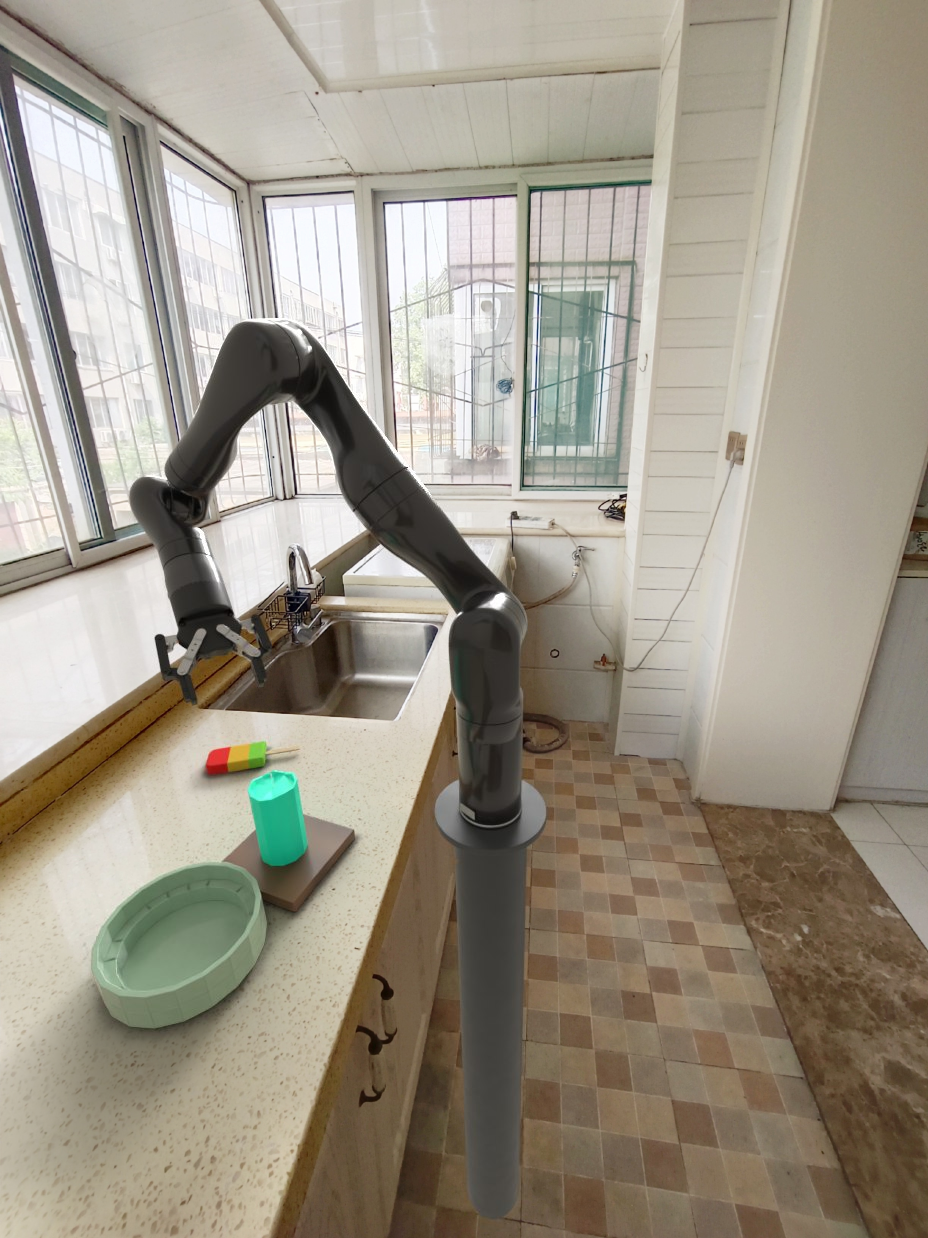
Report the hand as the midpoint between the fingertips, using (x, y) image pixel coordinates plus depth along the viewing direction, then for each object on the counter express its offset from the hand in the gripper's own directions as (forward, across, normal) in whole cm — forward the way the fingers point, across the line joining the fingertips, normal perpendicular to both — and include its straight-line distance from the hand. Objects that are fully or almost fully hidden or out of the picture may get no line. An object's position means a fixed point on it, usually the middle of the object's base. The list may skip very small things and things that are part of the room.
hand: (229, 693), depth 73 cm
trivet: (+22, +2, +6) cm, 23 cm away
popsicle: (+4, +4, +24) cm, 25 cm away
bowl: (+28, -11, +1) cm, 30 cm away
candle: (+21, +2, +6) cm, 22 cm away
